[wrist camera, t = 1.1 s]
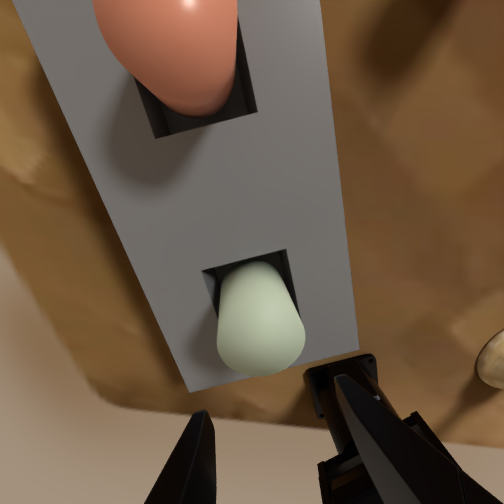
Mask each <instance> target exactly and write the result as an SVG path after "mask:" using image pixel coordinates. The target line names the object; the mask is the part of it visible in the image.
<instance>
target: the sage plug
mask: <svg viewBox="0 0 504 504" xmlns="http://www.w3.org/2000/svg"><path fill="white" fill-rule="evenodd" d="M304 344H305V330H304V326H303V324H302V322H301V319H300V317H299V315H298V313H297V311H296V308H295V306H294V304H293V302H292V300H291V297H290V295H289V293H288V291H287V288H286V286H285V284H284V282H283V280H282V277H281V275H280V273H279V272H278V271H277V270H276V268H274V267H273V266H272V265H270V264H268V263H266V262H263V261H259V260H248V261H243V262H240V263H238V264H236V265H235V266H233V267H232V268H231V269H230V270H229V271H228V272H227V273H226V275H225V276H224V278H223V281H222V284H221V294H220V307H219V319H218V332H217V349H218V353H219V355H220V357H221V359H222V360H223V362H224V363H225V364H226V365H227V366H228V367H230V368H231V369H233V370H234V371H236V372H238V373H241V374H244V375H248V376H267V375H272V374H275V373H278V372H280V371H282V370H284V369H286V368H287V367H289V366H290V365H291V364H292V363H293V362H295V360H296V359H297V358H298V357H299V355H300V354H301V352H302V350H303V347H304Z"/></svg>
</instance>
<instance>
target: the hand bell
mask: <svg viewBox="0 0 504 504" xmlns="http://www.w3.org/2000/svg"><path fill="white" fill-rule="evenodd" d="M477 372H478V375H479V377H480V378H481V380H482V381H483V382H485V383H486V384H488V385H490V386H493V387H496V388H499V389H504V330H502V331H501V332H499V333H498V334H496V335H495V336H494V337H493V338H492V339H491V340H490V341H489V342H488V343H487V344H486V345H485V347H484V348H483V349H482V351H481V353H480V355H479V357H478V360H477Z"/></svg>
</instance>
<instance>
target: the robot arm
mask: <svg viewBox="0 0 504 504" xmlns="http://www.w3.org/2000/svg"><path fill="white" fill-rule="evenodd" d="M369 359H370V360H369ZM313 373H314V374H313ZM308 378H309V383H310V387H311V392H312V397H313V401H314V406H315V410H316V414H317V417H318V418H319V419H326V422H327V425H328V427H329V430H330V433H331V435H332V438H333V441H334V443H335V446H336V449H337V451H338V455H337V456H335V457H333V458H331V459H329V460H327V461H325V462H324V461H322V462H320V463H318V464H317V466H318V472H319V483H320V489H321V496H322V503H323V504H503V503H502V502H501V501H499V500H498V499H497V498H496V497H494V496H493V495H492V494H491V493H489V492H488V491H487V490H485V489H484V488H483V487H482V486H481V485H479V484H478V483H477V482H476V481H475V480H473V479H472V478H471V477H470V476H469V475H467V474H466V473H465V472H464V471H463V470H462V469H461V468H460V466H459V465H458V464H457V462H456V461H455V460H454V458H453V457H452V456H451V455H450V453H449V452H448V451H447V449H446V448H445V447H444V446H443V444H442V443H441V442H440V440H439V439H438V438H437V437H436V435H435V434H434V433H433V431H432V430H431V429H430V428H429V426H428V425H427V424H426V422H425V421H424V420H423V419H422V417H421V416H420V415H419V413H418V412H417V411H415V412H413V413H411V414H410V415H411V416H409V417H407V418H405V419H403V420H401V419H400V417H399V416H398V414H397V413H396V411H395V410H394V408H393V407H392V405H391V404H390V402H389V401H388V399H387V398H386V396H385V395H384V393H383V392H382V390H381V389H380V387H379V386H378V377H377V365H376V358H375V357H374V355H372V354H365V355H362V356H358V357H354V358H350V359H346V360H342V361H338V362H334V363H330V364H326V365H322V366H318V367H315V368H311V369H309V370H308ZM216 490H217V489H216V454H215V430H214V426H213V423H212V421H211V419H210V416H209V414H208V412H207V410H201V411H197V412H195V413H194V414H193V415H192V417H191V419H190V420H189V422H188V424H187V426H186V428H185V430H184V431H183V433H182V435H181V437H180V439H179V441H178V443H177V444H176V446H175V448H174V450H173V451H172V453H171V455H170V457H169V459H168V461H167V462H166V464H165V466H164V468H163V470H162V472H161V474H160V475H159V477H158V479H157V481H156V483H155V484H154V486H153V488H152V490H151V492H150V494H149V495H148V497H147V499H146V501H145V503H144V504H216Z"/></svg>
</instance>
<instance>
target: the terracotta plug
mask: <svg viewBox="0 0 504 504" xmlns="http://www.w3.org/2000/svg"><path fill="white" fill-rule="evenodd" d="M92 1H93V7H94V12H95V16H96V20H97V23H98V26H99V29H100V31H101V33H102V36H103V38H104V40H105V42H106V43H107V45H108V47H109V49H110V50H111V52H112V53H113V54H114V56H115V57H116V58H117V60H118V61H119V62H120V63H121V64H122V66H124V67H125V68H126V69H127V70H128V71H129V72H130V73H131V74H132V75H133V76H134V77H135V78H136V79H138V80H139V81H140V82H141V83H142V84H143V85H144V86H145V87H146V88H147V89H148V90H150V91H151V92H152V93H153V94H154V95H155V96H156V97H157V98H158V99H159V100H160V101H162V102H163V103H164V104H165V105H166V106H167V107H168V108H169V109H171V110H172V111H173V112H175V113H177V114H178V115H180V116H183V117H186V118H191V119H202V118H206V117H209V116H212V115H213V114H215V113H217V112H218V111H219V110H220V109H221V108H223V106H224V105H225V104H226V103H227V101H228V99H229V98H230V95H231V93H232V90H233V87H234V81H235V62H236V39H237V17H238V11H237V0H92Z"/></svg>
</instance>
